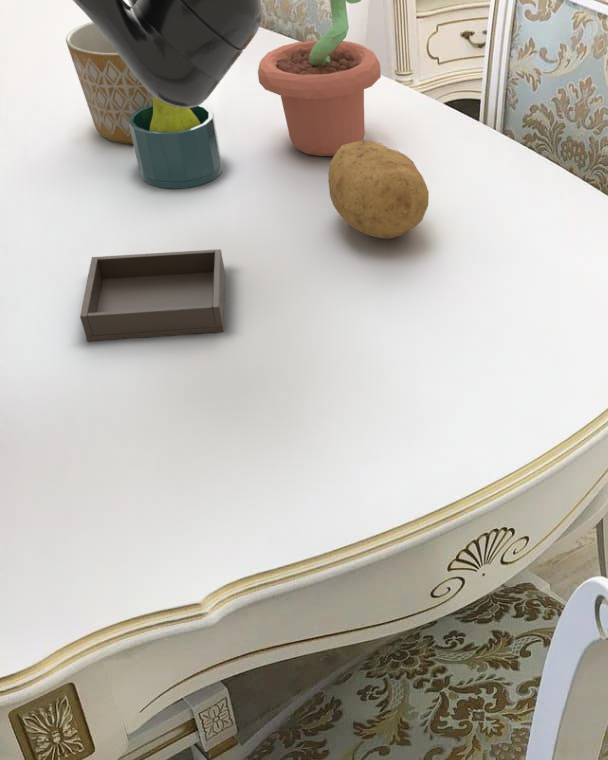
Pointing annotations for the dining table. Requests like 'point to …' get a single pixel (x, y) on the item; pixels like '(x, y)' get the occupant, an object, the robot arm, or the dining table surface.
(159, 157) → the cup
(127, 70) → the planter
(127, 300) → the tray
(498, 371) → the dining table surface
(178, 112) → the fruit
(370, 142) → the potato
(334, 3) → the decorative flower
